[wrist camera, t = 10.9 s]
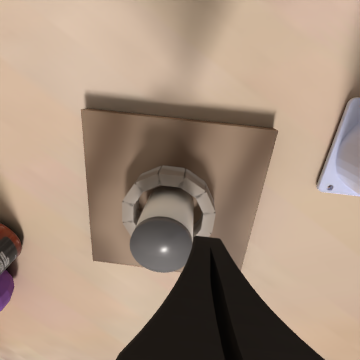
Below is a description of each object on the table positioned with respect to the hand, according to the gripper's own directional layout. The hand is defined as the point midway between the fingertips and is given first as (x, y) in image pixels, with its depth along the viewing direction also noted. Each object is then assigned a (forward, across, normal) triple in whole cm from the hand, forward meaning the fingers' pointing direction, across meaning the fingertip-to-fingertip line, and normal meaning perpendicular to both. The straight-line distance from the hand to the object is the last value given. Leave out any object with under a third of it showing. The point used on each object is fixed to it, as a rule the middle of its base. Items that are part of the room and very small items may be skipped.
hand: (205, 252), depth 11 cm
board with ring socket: (+10, +2, +3) cm, 11 cm away
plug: (+9, +2, +3) cm, 10 cm away
